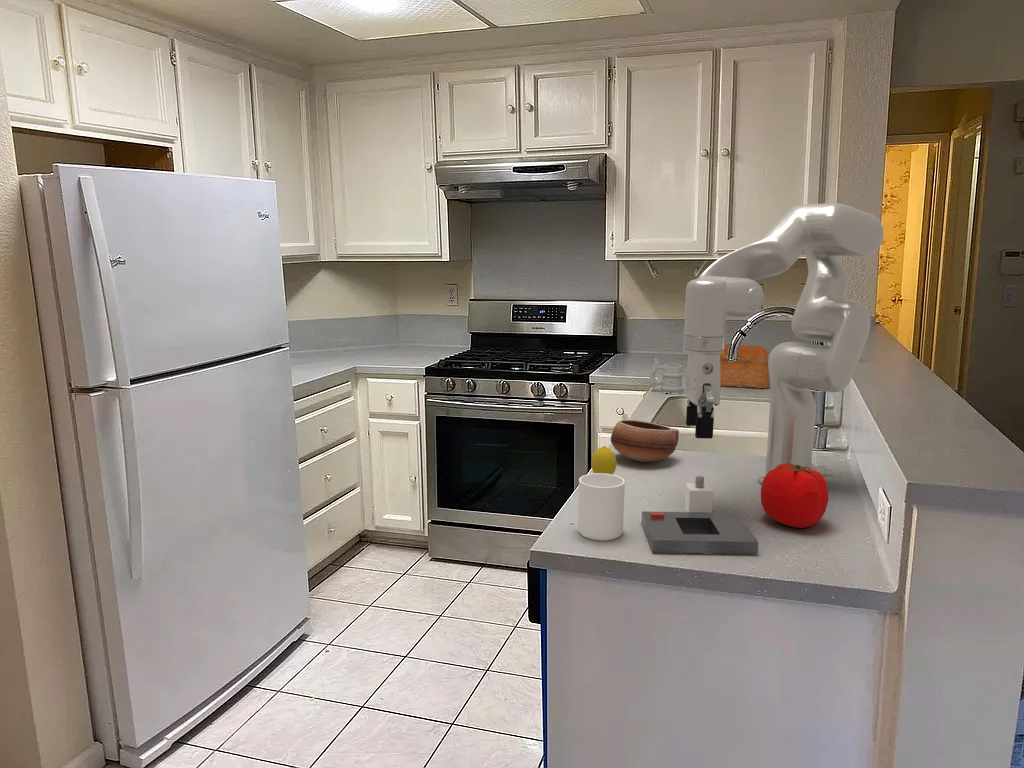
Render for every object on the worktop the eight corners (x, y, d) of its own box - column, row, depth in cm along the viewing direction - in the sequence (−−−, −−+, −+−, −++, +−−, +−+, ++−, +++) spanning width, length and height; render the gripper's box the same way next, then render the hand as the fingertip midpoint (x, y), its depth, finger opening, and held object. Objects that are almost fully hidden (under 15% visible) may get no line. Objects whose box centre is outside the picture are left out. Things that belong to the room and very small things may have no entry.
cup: (576, 539, 136) (577, 486, 134) (580, 516, 147) (581, 466, 146) (622, 542, 135) (624, 488, 133) (623, 518, 146) (625, 468, 144)
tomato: (774, 536, 138) (779, 475, 136) (747, 510, 151) (750, 455, 149) (839, 534, 139) (844, 474, 136) (806, 509, 152) (810, 454, 150)
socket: (736, 524, 143) (737, 509, 143) (757, 555, 129) (758, 538, 129) (641, 523, 144) (641, 508, 143) (652, 553, 130) (653, 536, 129)
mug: (682, 395, 264) (684, 361, 261) (648, 393, 266) (649, 360, 264) (682, 390, 271) (684, 358, 269) (649, 389, 273) (650, 356, 271)
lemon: (599, 475, 173) (600, 441, 172) (620, 480, 170) (621, 445, 168) (586, 480, 169) (587, 446, 167) (607, 485, 166) (608, 450, 164)
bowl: (688, 462, 183) (690, 422, 182) (645, 474, 174) (646, 432, 172) (640, 448, 196) (641, 411, 194) (597, 459, 186) (598, 419, 184)
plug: (706, 509, 151) (708, 474, 150) (711, 517, 147) (714, 481, 146) (684, 509, 151) (686, 473, 150) (688, 517, 147) (690, 480, 146)
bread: (697, 379, 294) (699, 341, 291) (769, 383, 286) (771, 344, 283) (693, 385, 281) (695, 345, 278) (769, 390, 273) (771, 349, 270)
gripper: (734, 351, 135) (728, 443, 138) (713, 339, 152) (709, 421, 155) (692, 350, 135) (687, 442, 138) (676, 338, 152) (672, 420, 155)
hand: (698, 431), depth 146 cm, fingers open, 9 cm apart
